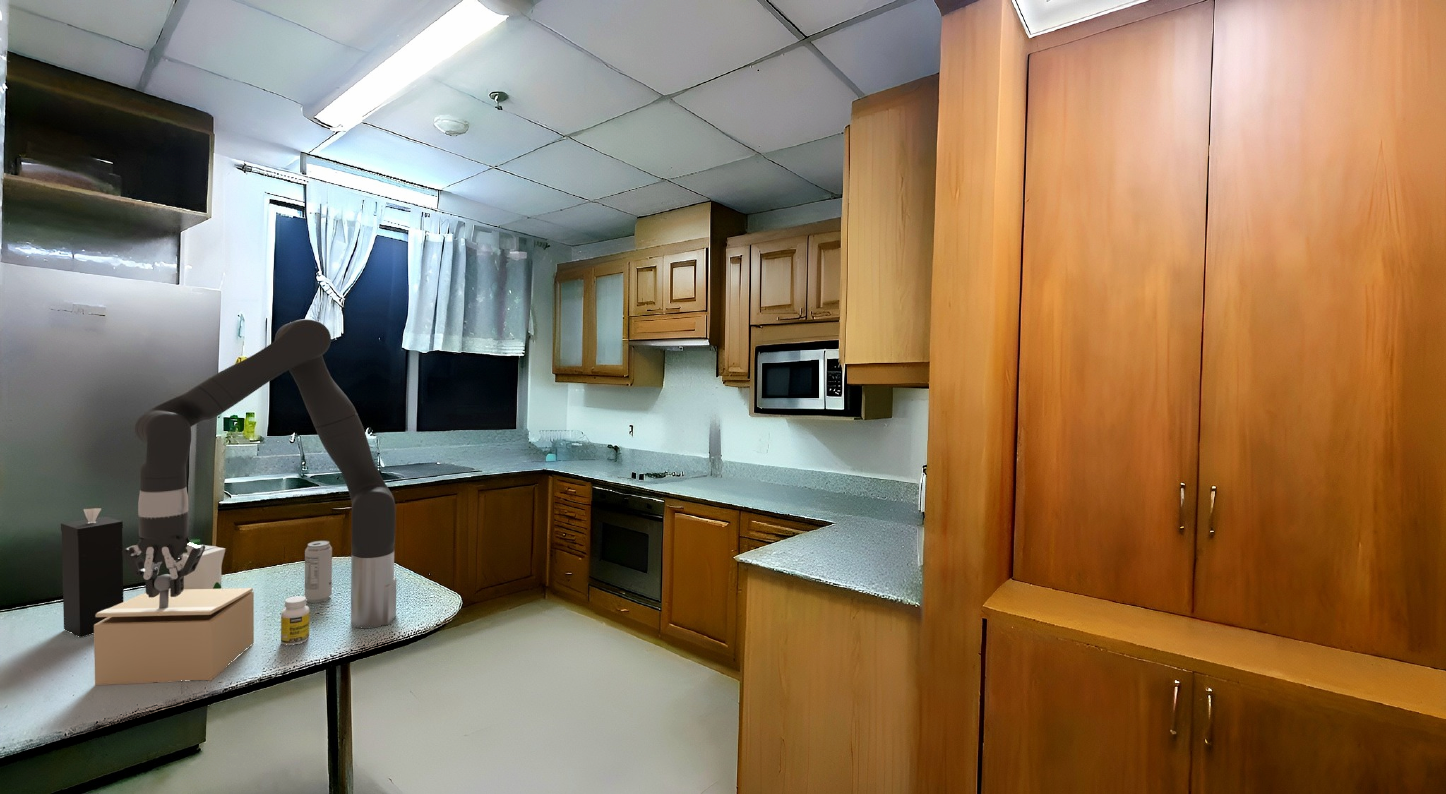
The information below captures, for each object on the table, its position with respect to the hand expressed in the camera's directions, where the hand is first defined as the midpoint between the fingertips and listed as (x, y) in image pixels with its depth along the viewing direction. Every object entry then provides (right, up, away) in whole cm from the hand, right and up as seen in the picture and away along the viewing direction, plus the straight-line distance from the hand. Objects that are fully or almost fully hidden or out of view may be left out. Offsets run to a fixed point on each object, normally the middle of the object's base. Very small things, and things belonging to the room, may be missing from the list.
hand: (164, 595), depth 130 cm
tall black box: (-33, -13, +19) cm, 40 cm away
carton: (-2, -16, +6) cm, 17 cm away
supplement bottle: (+14, -16, +18) cm, 28 cm away
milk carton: (-12, -14, +23) cm, 29 cm away
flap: (-1, -3, +5) cm, 6 cm away
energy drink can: (+5, -14, +41) cm, 44 cm away
